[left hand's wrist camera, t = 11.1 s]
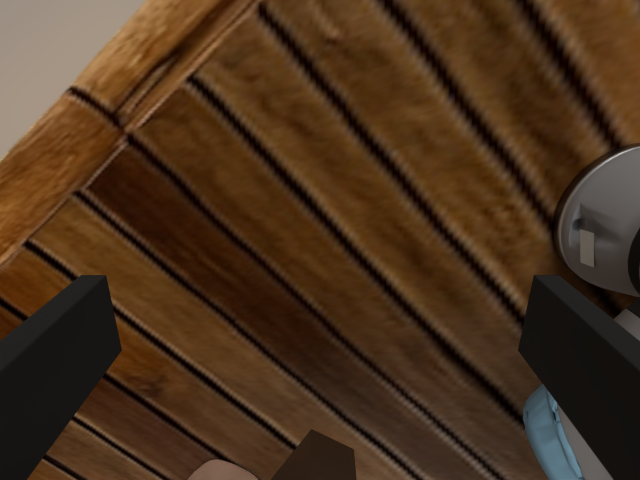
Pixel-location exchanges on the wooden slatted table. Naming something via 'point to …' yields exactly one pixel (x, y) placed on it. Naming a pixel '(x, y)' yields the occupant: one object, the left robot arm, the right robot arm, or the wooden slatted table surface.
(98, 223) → the wooden slatted table surface
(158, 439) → the wooden slatted table surface
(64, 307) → the left robot arm
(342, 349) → the wooden slatted table surface
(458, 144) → the wooden slatted table surface
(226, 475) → the anatomical model
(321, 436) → the bar
